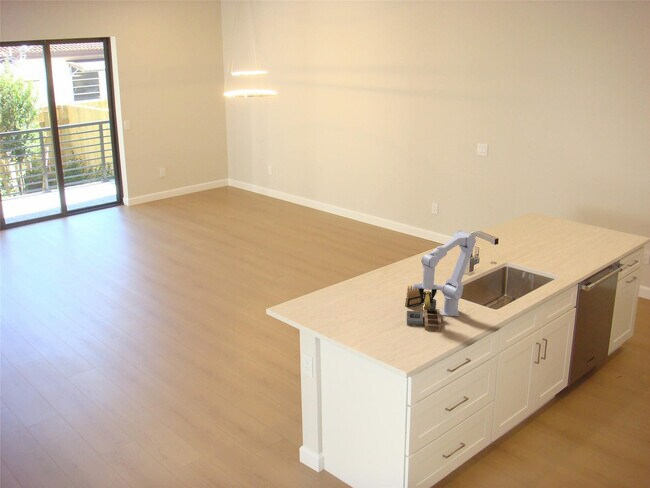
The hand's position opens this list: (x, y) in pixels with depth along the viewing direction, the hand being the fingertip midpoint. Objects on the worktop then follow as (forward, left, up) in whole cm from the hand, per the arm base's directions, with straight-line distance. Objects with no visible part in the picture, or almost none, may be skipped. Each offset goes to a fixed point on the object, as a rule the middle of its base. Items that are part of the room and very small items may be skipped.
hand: (426, 302), depth 364 cm
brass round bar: (0, 0, -3) cm, 3 cm away
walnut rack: (0, +3, -10) cm, 11 cm away
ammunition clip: (-20, -6, -11) cm, 23 cm away
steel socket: (0, -6, -10) cm, 12 cm away
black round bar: (-6, +3, -10) cm, 13 cm away
